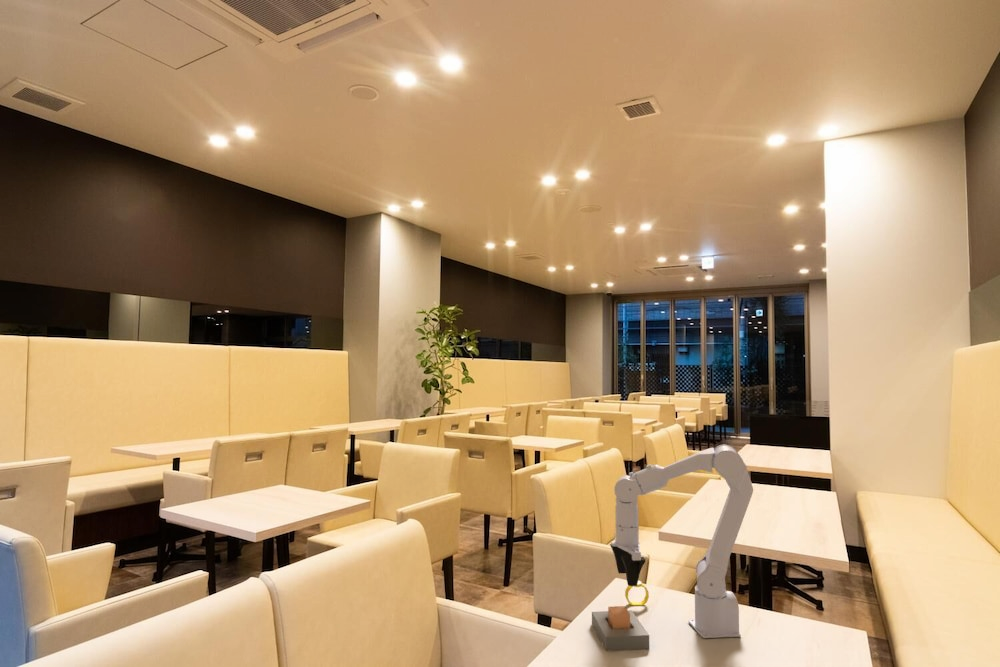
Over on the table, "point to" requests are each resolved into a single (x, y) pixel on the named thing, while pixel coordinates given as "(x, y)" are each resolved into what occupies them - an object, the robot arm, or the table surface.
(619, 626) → the plug
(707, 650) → the table surface
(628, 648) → the socket block
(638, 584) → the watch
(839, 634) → the table surface
